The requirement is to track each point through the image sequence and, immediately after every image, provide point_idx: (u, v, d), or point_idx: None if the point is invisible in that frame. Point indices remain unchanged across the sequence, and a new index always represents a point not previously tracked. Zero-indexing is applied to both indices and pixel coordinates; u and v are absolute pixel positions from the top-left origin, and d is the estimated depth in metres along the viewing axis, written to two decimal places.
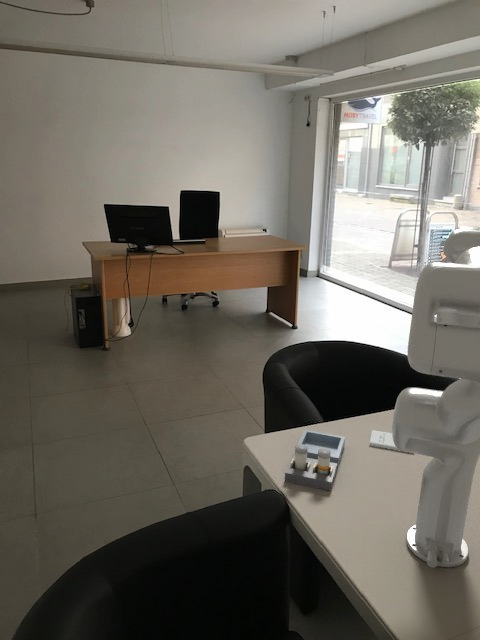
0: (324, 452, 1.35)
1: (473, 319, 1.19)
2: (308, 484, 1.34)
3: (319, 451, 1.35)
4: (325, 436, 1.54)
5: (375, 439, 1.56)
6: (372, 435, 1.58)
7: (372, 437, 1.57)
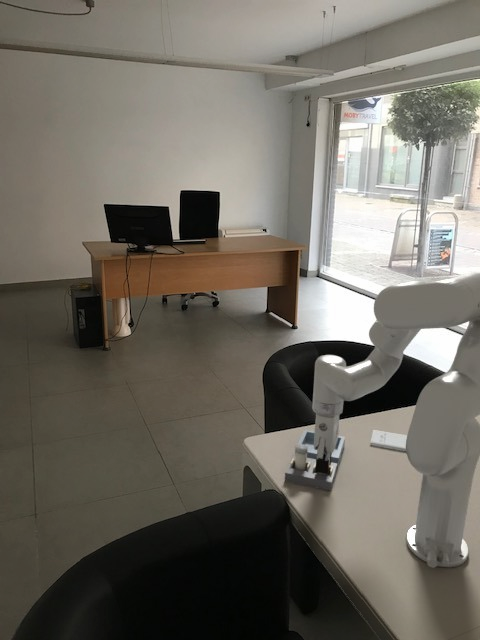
0: (324, 452, 1.35)
1: (338, 430, 1.35)
2: (308, 484, 1.34)
3: None
4: None
5: (376, 438, 1.56)
6: (373, 435, 1.58)
7: (373, 437, 1.57)
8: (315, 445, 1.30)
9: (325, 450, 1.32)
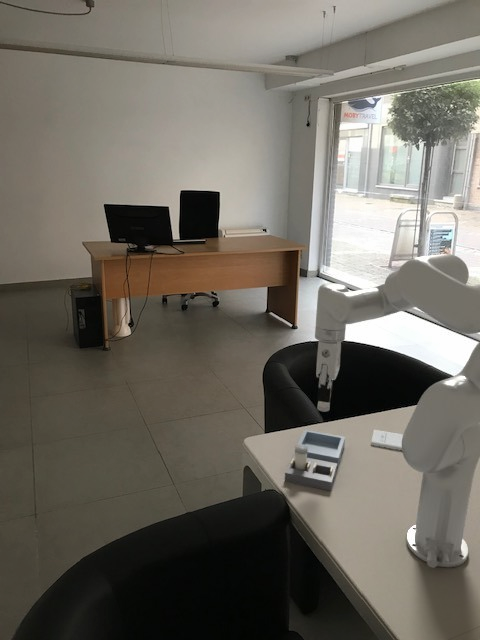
0: None
1: None
2: (308, 484, 1.34)
3: None
4: (325, 436, 1.54)
5: (377, 438, 1.56)
6: (374, 435, 1.58)
7: (374, 436, 1.57)
8: (317, 372, 1.32)
9: (327, 378, 1.34)
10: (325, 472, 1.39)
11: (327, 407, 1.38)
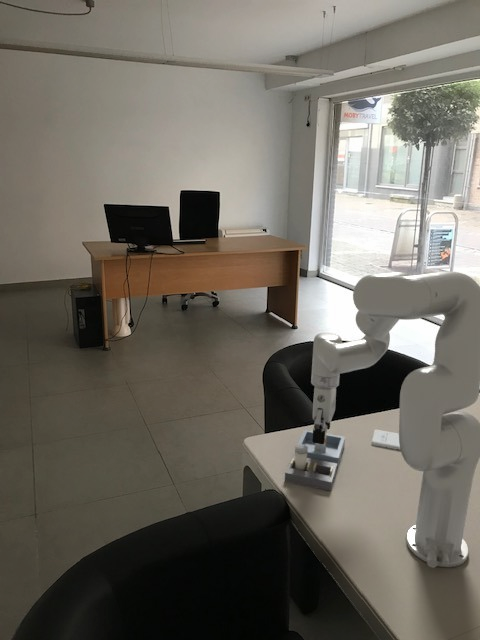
0: None
1: None
2: (308, 484, 1.34)
3: None
4: None
5: (377, 438, 1.56)
6: (374, 434, 1.58)
7: (374, 436, 1.57)
8: (313, 415, 1.42)
9: (322, 420, 1.42)
10: (325, 472, 1.39)
11: (323, 450, 1.48)
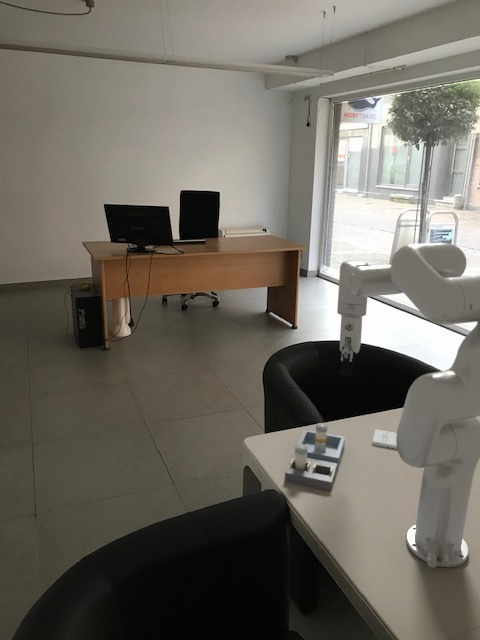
0: (321, 426, 1.47)
1: None
2: (308, 484, 1.34)
3: (317, 425, 1.47)
4: None
5: (378, 438, 1.56)
6: (375, 434, 1.58)
7: (375, 436, 1.57)
8: (341, 346, 1.37)
9: (350, 350, 1.38)
10: (325, 472, 1.39)
11: (323, 450, 1.48)
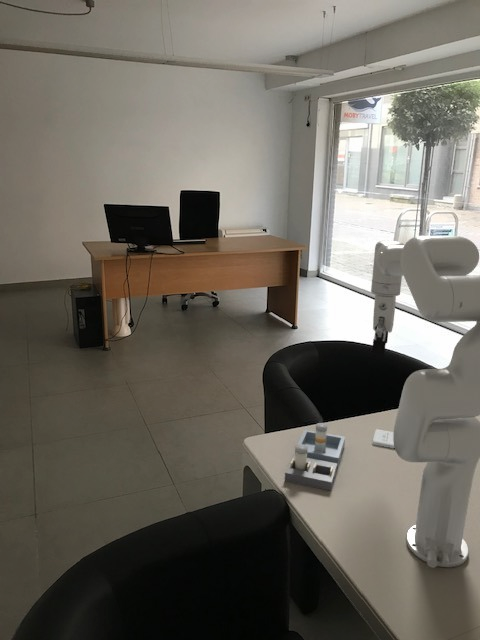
0: (321, 426, 1.47)
1: None
2: (308, 484, 1.34)
3: (317, 425, 1.48)
4: None
5: (378, 438, 1.56)
6: (375, 434, 1.58)
7: (375, 436, 1.57)
8: (374, 325, 1.39)
9: (383, 329, 1.39)
10: (325, 472, 1.39)
11: (323, 450, 1.48)
